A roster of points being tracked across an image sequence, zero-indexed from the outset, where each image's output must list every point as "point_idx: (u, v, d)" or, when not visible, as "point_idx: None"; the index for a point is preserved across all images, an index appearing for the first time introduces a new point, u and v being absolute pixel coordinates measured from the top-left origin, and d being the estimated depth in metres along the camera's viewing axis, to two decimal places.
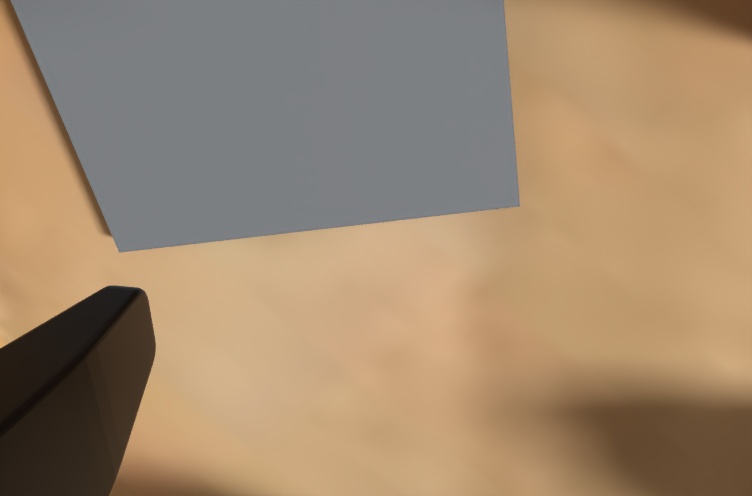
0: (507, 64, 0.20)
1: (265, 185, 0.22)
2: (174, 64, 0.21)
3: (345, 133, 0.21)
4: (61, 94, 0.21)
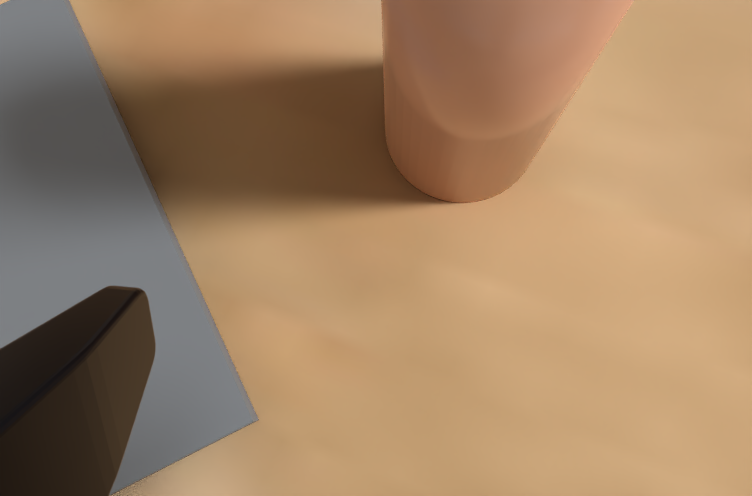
0: (189, 280, 0.21)
1: None
2: None
3: None
4: None
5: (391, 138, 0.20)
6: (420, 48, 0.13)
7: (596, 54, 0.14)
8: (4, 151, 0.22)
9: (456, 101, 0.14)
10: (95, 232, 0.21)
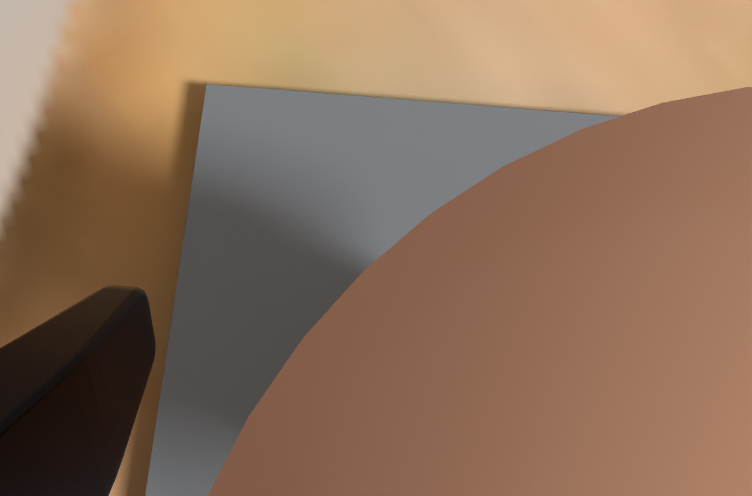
0: None
1: None
2: None
3: None
4: None
5: None
6: None
7: None
8: None
9: None
10: None
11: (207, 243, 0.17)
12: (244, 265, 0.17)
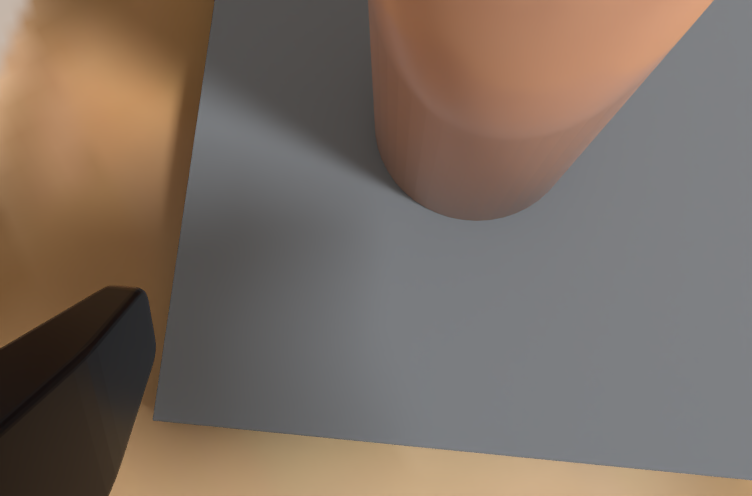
0: None
1: (412, 363, 0.16)
2: (358, 182, 0.17)
3: (542, 316, 0.16)
4: (201, 182, 0.17)
5: (382, 135, 0.15)
6: None
7: None
8: None
9: (481, 77, 0.09)
10: (677, 161, 0.17)
11: None
12: None
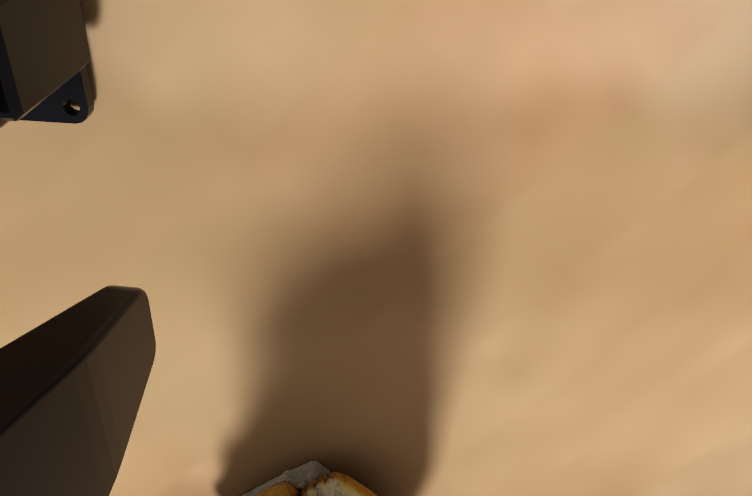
0: None
1: None
2: None
3: None
4: None
5: None
6: None
7: None
8: None
9: None
10: None
11: None
12: None
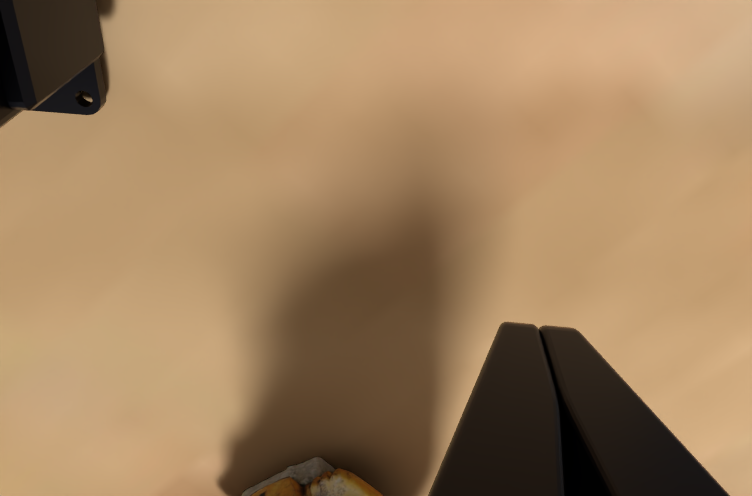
0: None
1: None
2: None
3: None
4: None
5: None
6: None
7: None
8: None
9: None
10: None
11: None
12: None
